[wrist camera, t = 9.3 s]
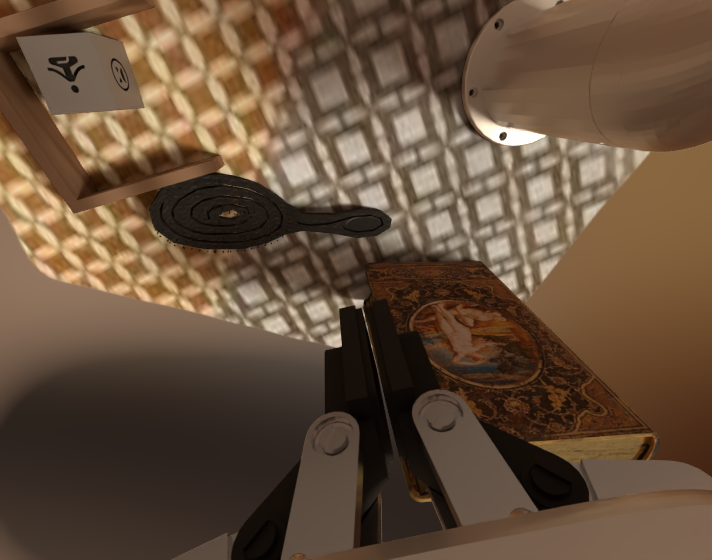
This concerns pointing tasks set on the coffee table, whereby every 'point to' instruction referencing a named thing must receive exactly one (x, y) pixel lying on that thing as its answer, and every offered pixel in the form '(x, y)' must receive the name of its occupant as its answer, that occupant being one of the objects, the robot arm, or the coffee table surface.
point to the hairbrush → (246, 215)
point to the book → (506, 363)
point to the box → (35, 127)
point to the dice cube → (81, 72)
